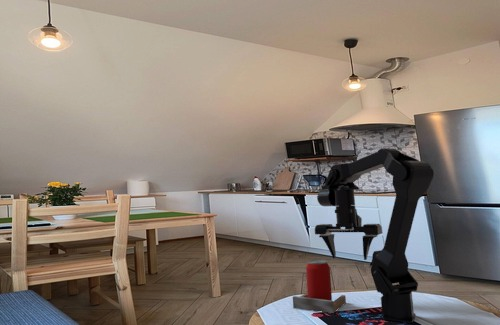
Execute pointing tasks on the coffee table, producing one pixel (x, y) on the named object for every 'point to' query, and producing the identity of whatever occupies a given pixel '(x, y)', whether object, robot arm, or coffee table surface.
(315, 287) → the beverage can
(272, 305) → the coffee table surface
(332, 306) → the guide channel
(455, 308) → the coffee table surface
